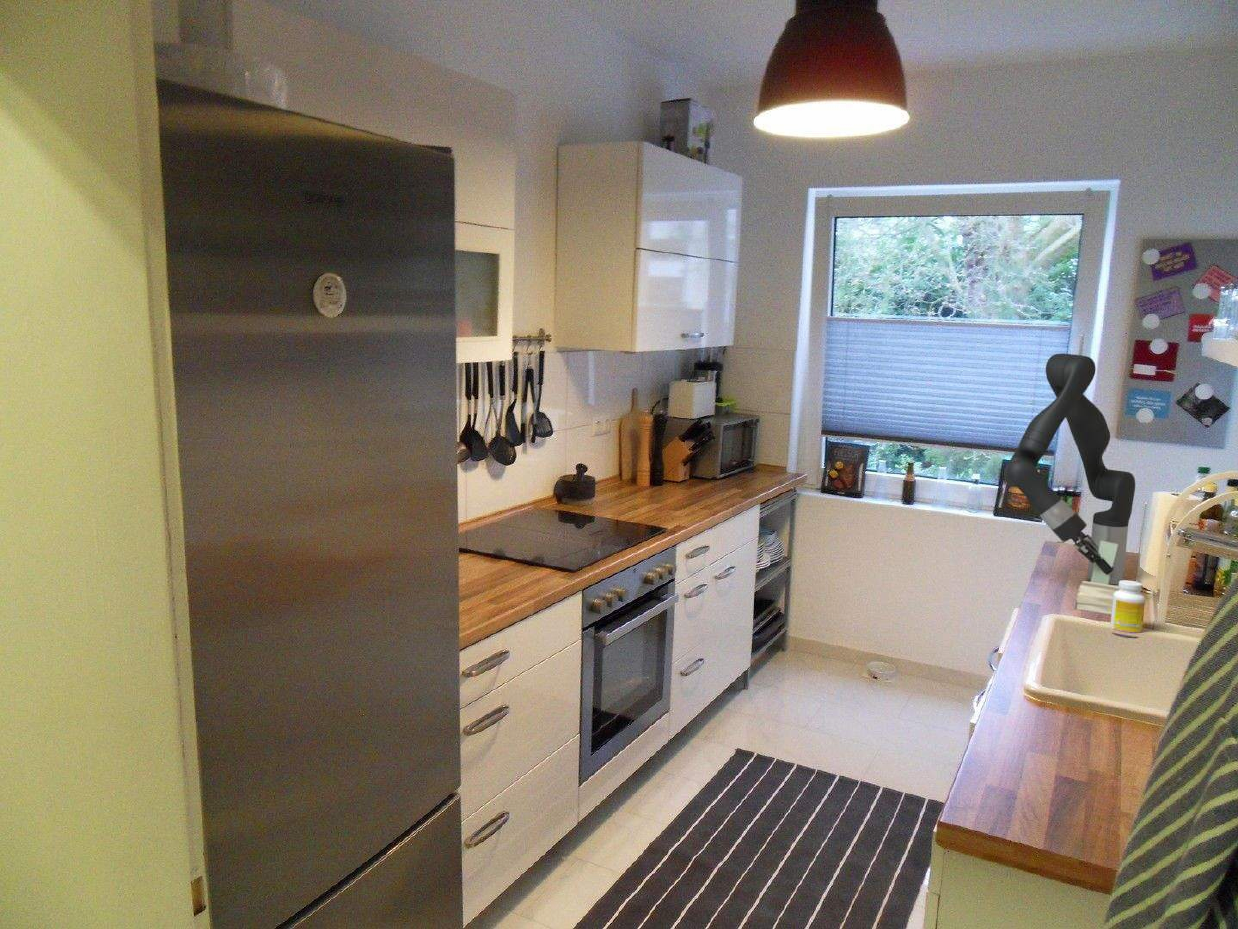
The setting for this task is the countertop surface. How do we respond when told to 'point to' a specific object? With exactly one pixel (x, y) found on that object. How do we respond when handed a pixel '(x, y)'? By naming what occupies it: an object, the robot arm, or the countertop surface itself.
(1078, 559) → the countertop surface
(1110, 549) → the sage slat
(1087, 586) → the offcut stack
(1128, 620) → the supplement bottle
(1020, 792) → the countertop surface
